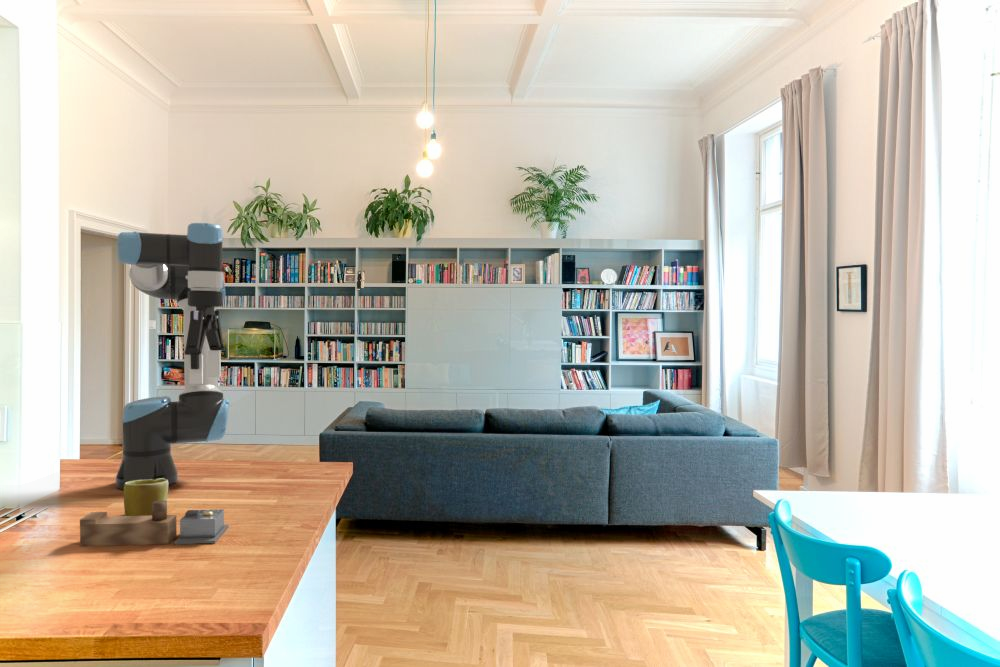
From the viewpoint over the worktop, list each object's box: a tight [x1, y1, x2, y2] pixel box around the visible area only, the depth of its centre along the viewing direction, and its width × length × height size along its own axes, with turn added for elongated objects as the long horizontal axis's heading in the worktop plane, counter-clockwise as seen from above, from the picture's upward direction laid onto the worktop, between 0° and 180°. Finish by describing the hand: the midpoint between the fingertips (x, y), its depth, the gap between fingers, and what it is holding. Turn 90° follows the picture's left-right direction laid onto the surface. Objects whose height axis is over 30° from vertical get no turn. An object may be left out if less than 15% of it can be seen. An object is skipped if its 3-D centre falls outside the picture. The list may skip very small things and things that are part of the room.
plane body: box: [79, 501, 177, 547], centre depth 140 cm, size 17×5×8 cm, turn 97°
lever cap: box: [179, 509, 225, 539], centre depth 144 cm, size 7×6×5 cm
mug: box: [123, 478, 169, 516], centre depth 158 cm, size 12×10×10 cm
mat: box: [174, 524, 229, 545], centre depth 144 cm, size 10×8×1 cm
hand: (205, 380), depth 158 cm, fingers open, 13 cm apart
